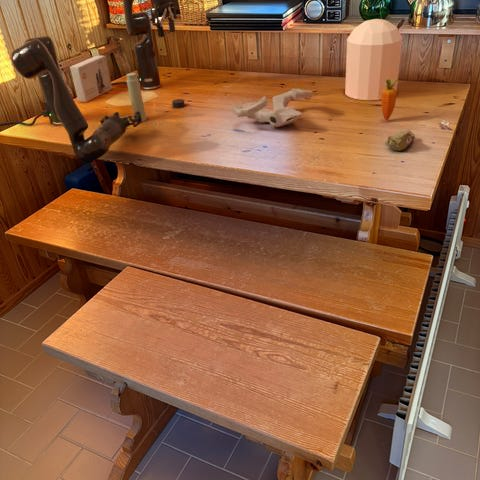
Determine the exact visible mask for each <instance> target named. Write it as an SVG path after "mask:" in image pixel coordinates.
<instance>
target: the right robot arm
mask: <svg viewBox="0 0 480 480" xmlns="http://www.w3.org/2000/svg"><path fill="white" fill-rule="evenodd" d="M134 1H135V0H122V5H123V15H124V21H125V27H126V32H127V33H128V35H129V36H130V37H137V36H143V37H142V38H141V39H140V40H139V41H137V42H135V44H134V45H133V50H134V54H135V59H136V64H137V67H136V71H137V72H136V73H137V78H138V80H139V85H140V89H142V90H145V91H151V90H152V91H153V90H157V89H159V88H161V87H162V84H161V78H160V73H159V72H160V71H159V67H158V66H159V65H158V62H157V61H158V60H157V55H156V50H155V44H154V38H153V37H154V36H153V32H152V29H153V28H152V26H154V27H156V30H157V35H158V38H164V37H165V32H164V26H163V24H164V21H165V20H167V21H168V30H169V32H170V33H175V32H176V26H175V21H176V19H178V17H177V10H176V5H175V4H176V3H175V2H172V0H151V3H152V4H154V7H152V8H151V7H150V15H149V13H148V12H147V11H138V12H133V7H134ZM150 17H151V18H150ZM111 85H112V86H115V85H127V81H118V82H111Z"/></svg>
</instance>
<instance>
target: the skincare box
mask: <svg viewBox="0 0 480 480" xmlns="http://www.w3.org/2000/svg"><path fill="white" fill-rule="evenodd" d="M69 70H70V74H71V78H72V82H73V86H74V90H75V94H76V98H77V102H81V103H82V102H84V103H87V102H89V101H91V100H93V99H95V98H97V97H100V96H101V95H103V94H105V93H107V92H108V91H110V90H112V89H113V85H111V83H112V81H111V76H110V72H109V71H110V70H109V66H108V62H107V57H106V55H100V54H99V55H95V56H92V57H90V58H87V59H85V60H83V61H80V62H78V63H75V64H73V65H71V66H69Z"/></svg>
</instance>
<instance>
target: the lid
mask: <svg viewBox="0 0 480 480" xmlns="http://www.w3.org/2000/svg"><path fill="white" fill-rule="evenodd" d="M171 103H172V108H174V109H181V108H184V107H185V100H184V99H183V98H182V99H181V98H177V99H173V100H172V101H171Z"/></svg>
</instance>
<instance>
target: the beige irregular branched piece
mask: <svg viewBox="0 0 480 480" xmlns="http://www.w3.org/2000/svg"><path fill="white" fill-rule="evenodd" d="M313 93H314V92H313V91H312V90H307V89H302V88H292V89H291V90H289V91H286V92H283V93H281V94H277V95H275V96H272V102H271V103H272V107H273V109H272V110H271V109H266V108H265V107H267V106H268V98H267V96H266V95H264V96H262V97H261V98H260V99H259V100H258V101H257V102H256V101H251V102H246V103H240V104H234V105H232V106H231V107H232V108H231V109H232V112H233V113H234V115H235V116H237V118H244V117H246V118H248V119H252V120H257V122H259V123H269V124H270V126H272V127H274V128H280V127H284V126H287V125H290V124H294V123H296V121H298V120H301V119H302V112H301V111H300V110H297V109H295V108H294V107H291V106H288V105H289V103H290V102H292V101H299V100H308V101H310V100H311V99H312V97H313Z"/></svg>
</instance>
